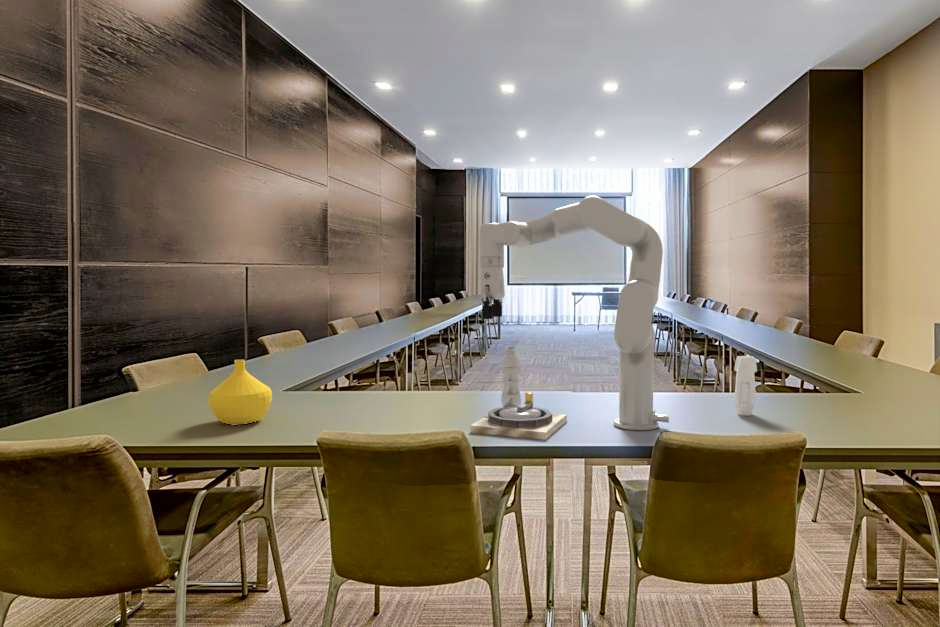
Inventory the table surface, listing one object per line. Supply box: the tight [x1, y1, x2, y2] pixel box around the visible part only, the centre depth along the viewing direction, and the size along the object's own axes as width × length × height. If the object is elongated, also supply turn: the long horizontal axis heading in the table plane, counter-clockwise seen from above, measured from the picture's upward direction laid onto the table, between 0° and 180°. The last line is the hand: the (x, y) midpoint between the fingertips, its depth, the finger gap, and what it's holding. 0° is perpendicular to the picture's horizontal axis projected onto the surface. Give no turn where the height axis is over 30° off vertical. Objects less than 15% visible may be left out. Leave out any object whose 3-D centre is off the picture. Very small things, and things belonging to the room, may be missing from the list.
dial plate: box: [469, 406, 568, 441], centre depth 183 cm, size 22×22×4 cm
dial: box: [499, 391, 541, 419], centre depth 184 cm, size 16×12×6 cm
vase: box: [208, 359, 273, 425], centre depth 193 cm, size 18×18×19 cm
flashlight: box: [733, 355, 758, 417], centre depth 194 cm, size 7×18×7 cm
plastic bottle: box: [500, 346, 522, 407], centre depth 208 cm, size 6×7×20 cm
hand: (492, 317), depth 198 cm, fingers open, 9 cm apart
